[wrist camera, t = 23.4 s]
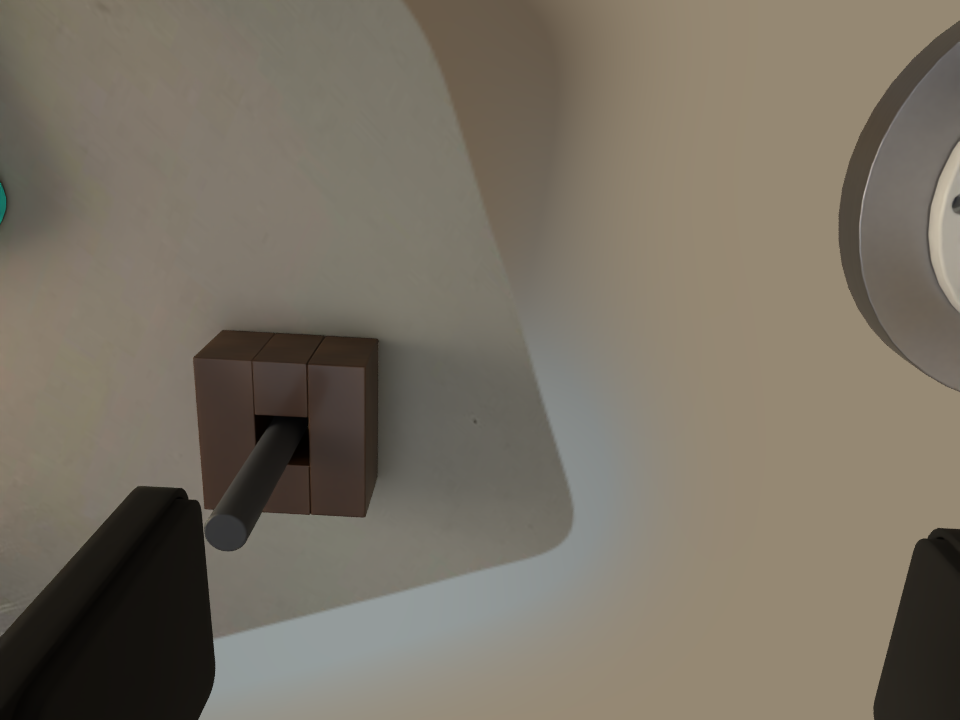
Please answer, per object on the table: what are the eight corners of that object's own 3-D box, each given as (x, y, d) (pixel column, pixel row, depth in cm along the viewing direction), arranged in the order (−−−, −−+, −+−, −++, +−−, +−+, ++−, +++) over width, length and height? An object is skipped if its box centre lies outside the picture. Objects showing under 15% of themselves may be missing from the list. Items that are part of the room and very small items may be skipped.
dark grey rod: (315, 393, 40) (246, 515, 29) (315, 423, 40) (248, 553, 30) (282, 392, 40) (201, 513, 29) (284, 421, 40) (204, 551, 30)
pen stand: (378, 338, 39) (365, 366, 35) (377, 477, 41) (365, 518, 38) (222, 329, 39) (192, 357, 35) (231, 469, 41) (204, 509, 38)
